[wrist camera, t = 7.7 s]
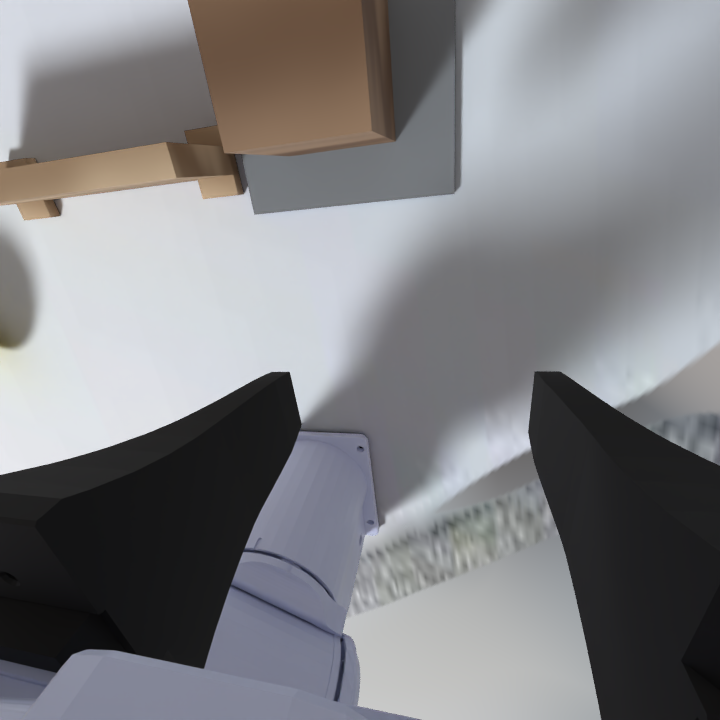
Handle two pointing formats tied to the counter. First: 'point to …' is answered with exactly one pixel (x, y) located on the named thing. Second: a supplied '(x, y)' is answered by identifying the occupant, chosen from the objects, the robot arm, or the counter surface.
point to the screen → (120, 173)
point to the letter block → (297, 73)
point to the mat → (412, 129)
